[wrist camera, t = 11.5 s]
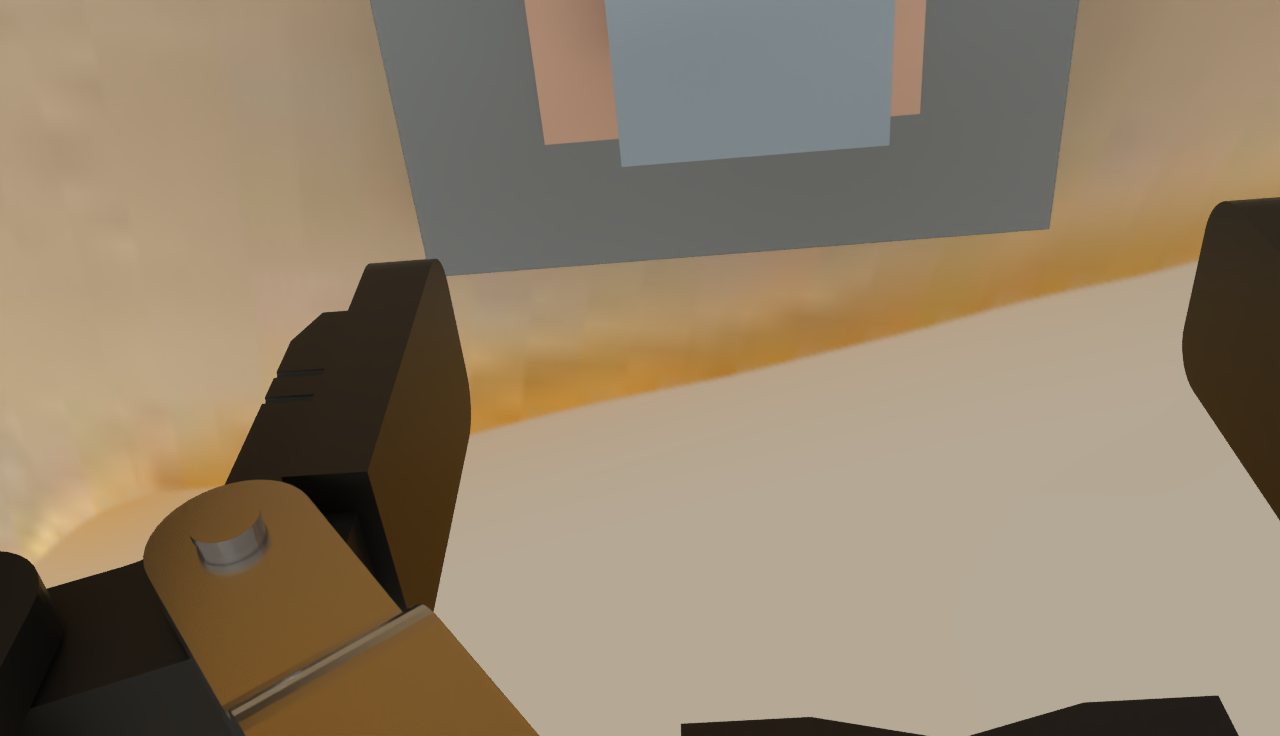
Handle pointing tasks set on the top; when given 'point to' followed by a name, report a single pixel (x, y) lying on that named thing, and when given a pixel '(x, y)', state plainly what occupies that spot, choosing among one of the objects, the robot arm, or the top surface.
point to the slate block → (749, 77)
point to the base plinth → (721, 188)
